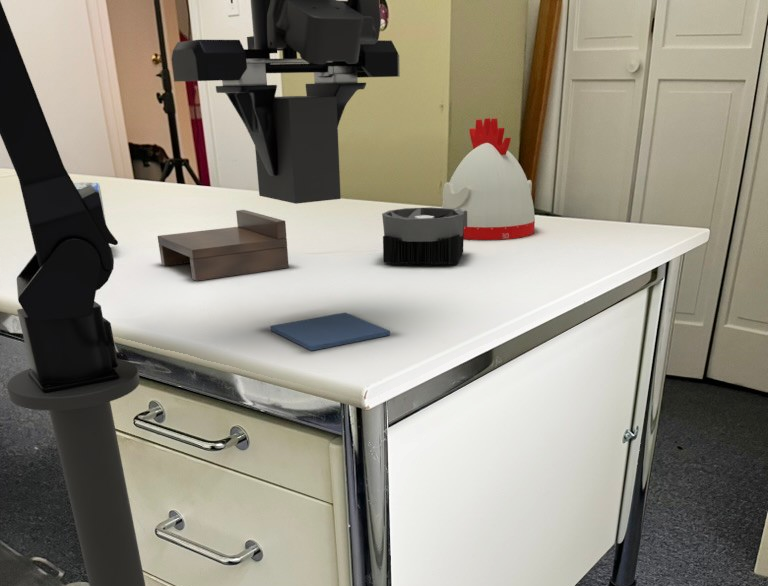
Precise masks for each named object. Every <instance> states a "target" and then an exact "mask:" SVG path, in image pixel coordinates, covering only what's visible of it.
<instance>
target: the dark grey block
mask: <svg viewBox="0 0 768 586" xmlns="http://www.w3.org/2000/svg"><path fill="white" fill-rule="evenodd" d="M273 117H274V126H275V135H276V144H277V153H278V175H277V176H271V175H269V174H268V172H267V170H266V168H265V166H264V163H263V161H262V159H261V157H260V155H259V153H258V151H257V149H256V147H254V149H255V151H254V152H255V162H256V173H257V183H258V184H257V186H258V195H259V197H262V198H267V199H272V200H277V201H281V202H286V203H291V204H296V205H297V204H307V203H316V202H325V201H335V200H341V199H342V196H341V195H342V194H341V175H340V174H341V173H340V171H341V170H340V151H339V129H338V128H339V125H338V124H337V100H336V96H307V95H286V96H285V95H284V96H275V98H274V102H273Z"/></svg>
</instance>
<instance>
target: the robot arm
mask: <svg viewBox="0 0 768 586" xmlns="http://www.w3.org/2000/svg"><path fill="white" fill-rule="evenodd" d="M250 11H251V22H252V23H251V24H252V33H253V34H252V35H251V36H246V44H247V49H246V48H244V46H243V44H242V42H241V40H240V39H191V40H184V41H177V43H176V44H175V45H174V47H173V49H172V54H171V59H170V60H171V66H172V74H173V75H172V76H173V82H211V81H212V82H214V81H215V82H217V81H221V83H222V85H215V91H216V93H217V94H225V95H226V96H227V98H228V99H229V101H230V103H231V104H232V106H233V108H234V109H235V111H236V113H237V115H238V116H239V118H240V120H241V121H242V122H243V124H244V126H245V128H246V130H247V133H248V135H249V136H250V139H251V140H252V142H253V145H254V146H255V147H256V149H257V151H258V153H259V155H260V157H261V159H262V161H263V163H264V166H265V168H266V170H267V172H268V174H269V175H271V176H277V175H278V153H277V144H276V135H275V126H274V117H273V102H274V98H275V97H276V93H277V89H278V85H277V84H268V80H267V74H305V73H311V74H313V78H314V79H313V80H314V83H305V92H306V93H305V94H306V96H336V100H337V124H338V126H339V125H340V121H341V119H342V116H343V113H344V111H345V108H346V107H347V104H348V103H349V102H350V100H351V99H352V98H353V96H354V95H355V93H356V92H357V91H359V90H365V89H366V86H367V82H358V81H359V80H358V78H395V77H396V78H397V77H399V78H400V76H401V75H400V73H401V72H400V54H399V52H398V50H397V48H396V46H395V44H394V42H393V40H381V39H379V38H380V33H381V27H382V26H381V25H382V17H381V5H380V0H250ZM278 52H281V53H282V54H281V55H282V58H271V54H278ZM298 54H299V56H300V58H298ZM0 137H1V140H2V142H3V145H4V147H5V150H6V152H7V154H8V157H9V159H10V161H11V164H12V166H13V168H14V171H15V174H16V176H17V178H18V182H19V185H20V186H19V187H20V191H21V195H22V199H23V203H24V207H25V212H26V216H27V220H28V225H29V229H30V233H31V237H32V243H33V246H34V250H35V252H34V254H33V255H32V257H31V258H30V259H29V261H28V262H27V264H25V266H24V267H23V269H22V270H21V271H20V272H19V274H18V275H17V276H16V290H17V302H18V304H20V306H21V308H18V309H16V313H17V316H18V320H19V324H20V328H21V333H22V337H23V342H24V346H25V350H26V354H27V358H28V363H29V367H30V368H31V369H30V368H27V369H28V375H29V376H30V377H31V379H32V380H33V381H34V382H35V384H36V385H37V386H38V387H39V389H40V390H41V391H42V392H43V393H51V392H56V391H61V390H66V389H71V388H76V387H81V386H86V385H92V384H97V383H102V382H107V381H112V380H117V379H119V373H118V372H117V371H116V370H115V369H114V368H116V367H117V366H118V361H117V359H118V357H117V355H118V354H117V351H116V344H115V339H114V335H113V329H112V324H111V322H110V321H109V320H108V319H106V318H105V317H104V316H103V311H102V305H101V304H99V303H98V302H96V301H95V299H96V293H97V291H98V290H100V289H101V288H102V287H103V286H105V284H107V282H108V281H109V279H110V277H111V274H112V273H113V271H114V266H115V260H114V255H113V250H112V247H111V246H110V245H113V246H118V244H119V242H118V240H117V239H116V237H115V236H114V235H113V233H112V232H111V230H110V229H109V227H108V224H107V221H106V222H105V220H106V218H105V219H104V214H105V213H104V214H103V209H102V204H101V199H100V195H99V193H98V192H97V191H96V190H95V188H94V187H93V186H92V185H88V186H86V187H84V188H82V189H80V190H77V188H76V187H75V185H74V183H75V182H74V181H73V180H72V178H71V177H70V174H69V173H68V170H67V169H66V168H65V165H64V163H63V159H62V158H61V155H60V152H59V149H58V148H57V147H58V146H57V144H56V141H55V140H54V137H53V134H52V131H51V129H50V127H49V124H48V120H47V119H46V116H45V114H44V111H43V108H42V106H41V103H40V101H39V98H38V95H37V93H36V90H35V87H34V85H33V82H32V80H31V77H30V74H29V72H28V69H27V66H26V64H25V62H24V59H23V55H22V54H21V51H20V48H19V46H18V43H17V41H16V38H15V36H14V33H13V30H12V27H11V25H10V22H9V19H8V17H7V15H6V11H5V9H4V7H3V4H2V2H1V0H0ZM255 147H254V148H255Z"/></svg>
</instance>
